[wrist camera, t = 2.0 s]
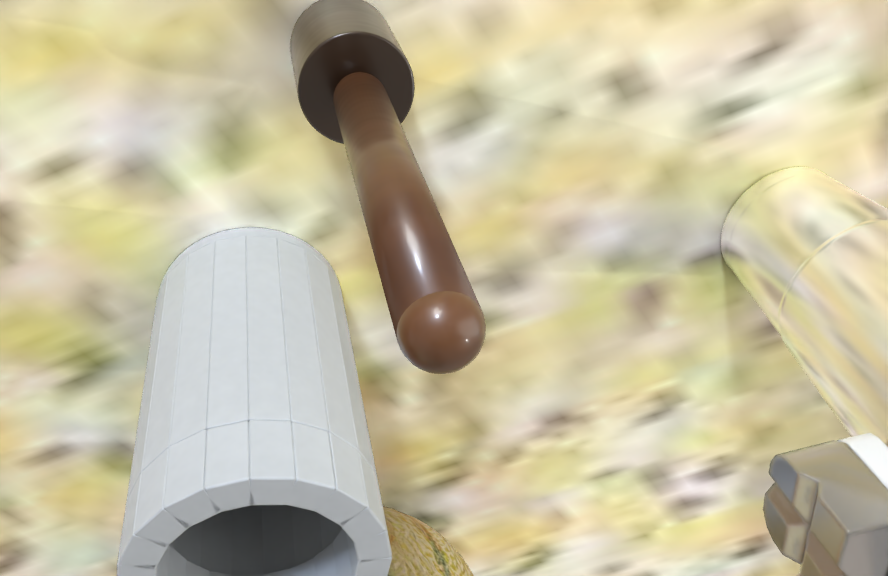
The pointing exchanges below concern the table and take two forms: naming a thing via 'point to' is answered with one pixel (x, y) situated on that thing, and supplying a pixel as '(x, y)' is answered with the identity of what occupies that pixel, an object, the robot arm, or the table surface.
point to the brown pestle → (387, 177)
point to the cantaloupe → (420, 549)
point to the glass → (820, 284)
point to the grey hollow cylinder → (252, 422)
